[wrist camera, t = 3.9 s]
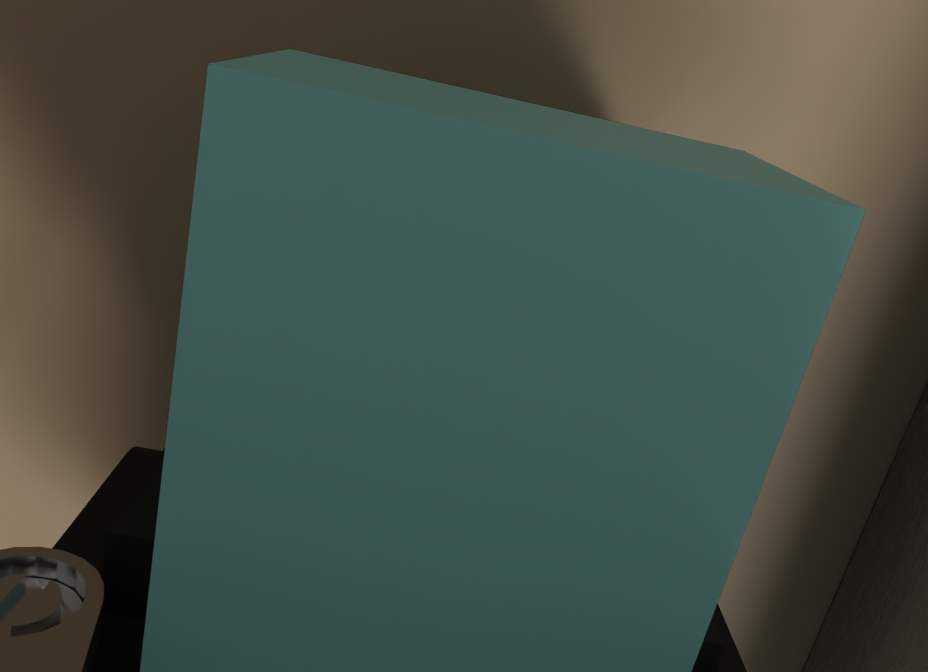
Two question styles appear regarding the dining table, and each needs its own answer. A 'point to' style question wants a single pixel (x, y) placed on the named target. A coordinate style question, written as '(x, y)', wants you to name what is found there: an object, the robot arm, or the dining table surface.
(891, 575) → the slot rail
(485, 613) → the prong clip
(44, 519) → the dining table surface
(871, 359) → the dining table surface
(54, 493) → the dining table surface
